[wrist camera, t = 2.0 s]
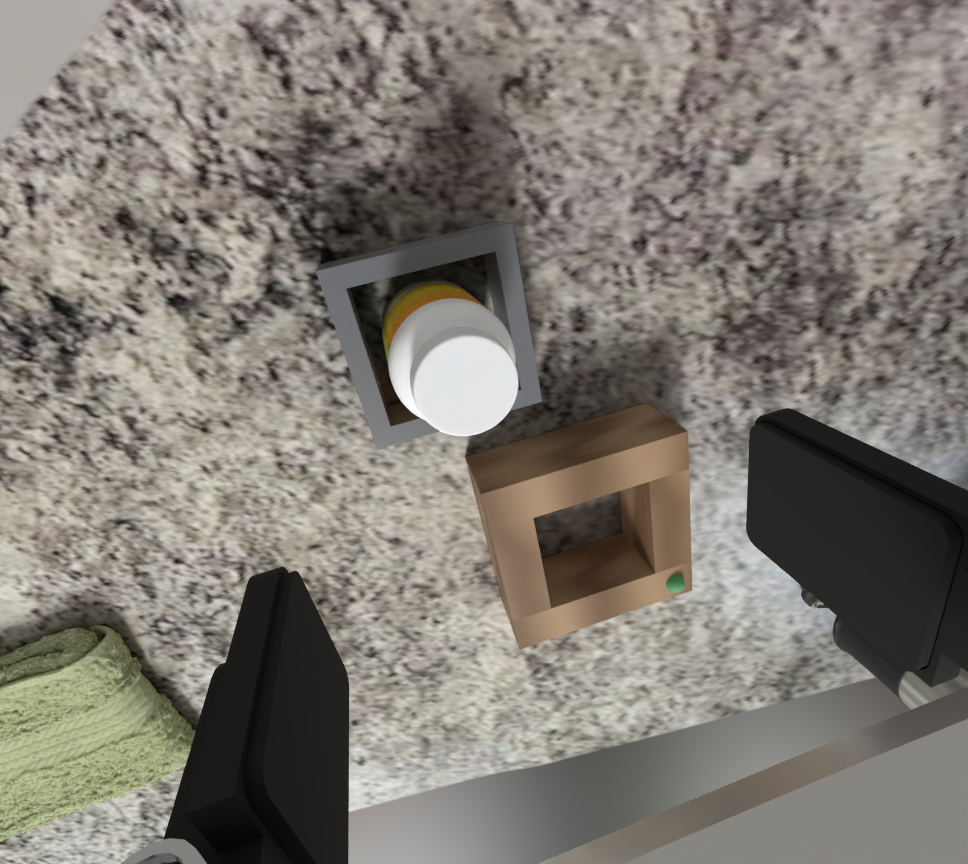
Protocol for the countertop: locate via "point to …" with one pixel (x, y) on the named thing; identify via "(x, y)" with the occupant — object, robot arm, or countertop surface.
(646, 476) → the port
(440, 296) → the supplement bottle
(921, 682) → the milk frother
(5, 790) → the washcloth
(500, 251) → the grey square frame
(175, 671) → the countertop surface
